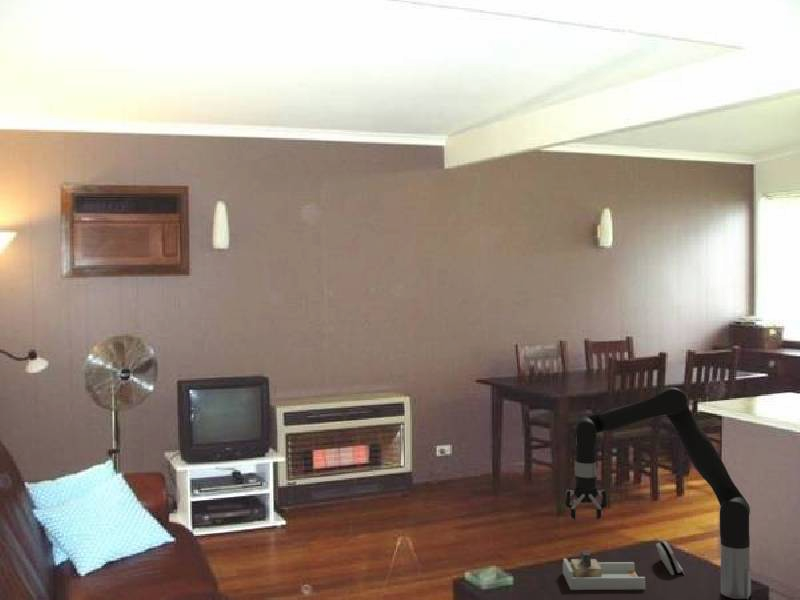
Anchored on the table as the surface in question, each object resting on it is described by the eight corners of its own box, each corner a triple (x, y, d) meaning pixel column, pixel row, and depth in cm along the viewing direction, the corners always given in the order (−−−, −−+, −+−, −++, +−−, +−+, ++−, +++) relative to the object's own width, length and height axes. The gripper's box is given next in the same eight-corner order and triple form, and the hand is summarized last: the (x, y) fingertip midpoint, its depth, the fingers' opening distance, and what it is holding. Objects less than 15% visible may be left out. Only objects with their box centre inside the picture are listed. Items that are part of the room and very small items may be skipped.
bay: (633, 572, 307) (633, 556, 307) (645, 589, 291) (645, 572, 291) (562, 573, 307) (562, 557, 307) (570, 589, 292) (570, 572, 291)
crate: (595, 572, 304) (595, 548, 304) (601, 582, 294) (601, 557, 294) (571, 572, 304) (570, 548, 304) (576, 582, 294) (575, 557, 294)
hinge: (685, 575, 304) (675, 549, 304) (673, 579, 304) (663, 553, 304) (674, 559, 320) (665, 535, 320) (662, 563, 321) (653, 539, 321)
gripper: (603, 471, 302) (603, 515, 302) (564, 471, 302) (563, 515, 303) (608, 476, 294) (607, 522, 295) (567, 476, 295) (567, 522, 295)
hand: (585, 518), depth 299 cm, fingers open, 8 cm apart
